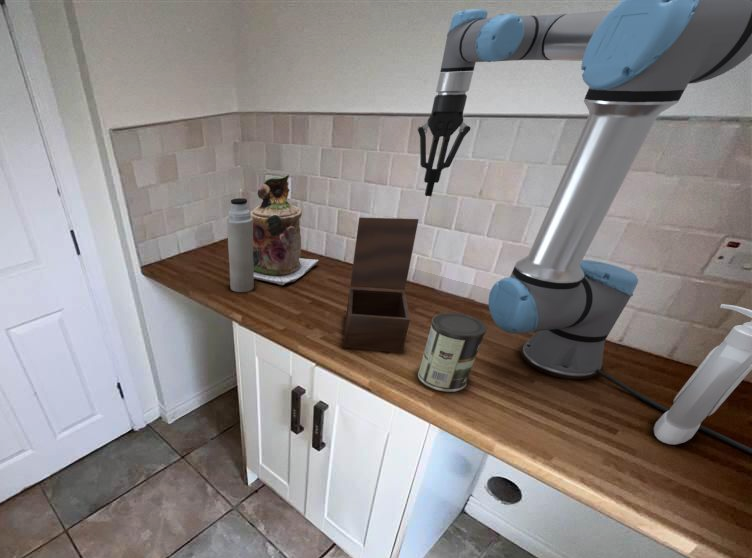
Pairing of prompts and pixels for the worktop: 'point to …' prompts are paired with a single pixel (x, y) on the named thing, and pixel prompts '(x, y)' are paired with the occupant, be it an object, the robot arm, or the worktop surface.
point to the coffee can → (451, 351)
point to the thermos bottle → (240, 246)
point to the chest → (376, 320)
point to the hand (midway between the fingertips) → (428, 194)
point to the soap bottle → (709, 384)
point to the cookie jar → (277, 236)
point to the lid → (383, 252)
